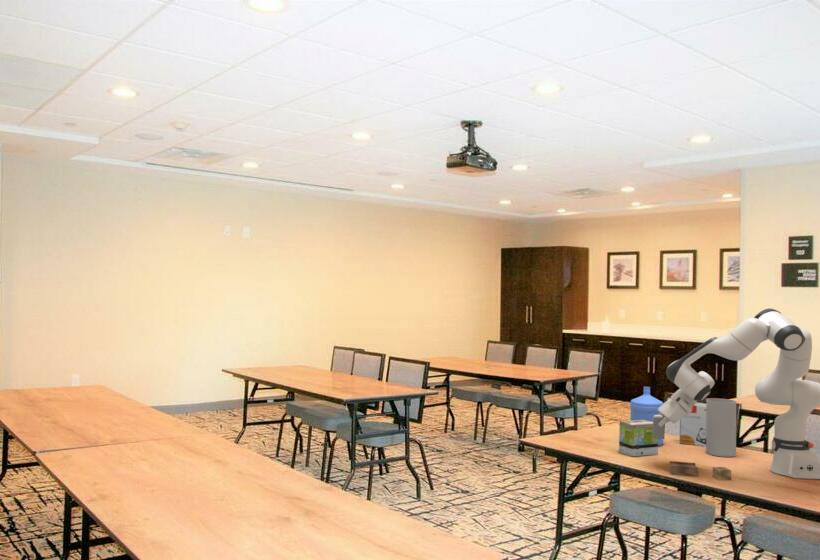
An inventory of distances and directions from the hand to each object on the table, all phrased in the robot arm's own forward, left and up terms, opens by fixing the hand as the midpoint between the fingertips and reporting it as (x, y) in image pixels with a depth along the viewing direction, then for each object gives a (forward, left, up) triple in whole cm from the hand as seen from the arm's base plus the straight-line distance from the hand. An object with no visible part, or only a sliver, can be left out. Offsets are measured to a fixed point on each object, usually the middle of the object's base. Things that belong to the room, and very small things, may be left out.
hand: (657, 424), depth 280 cm
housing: (-1, 0, -6) cm, 6 cm away
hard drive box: (-23, -53, -18) cm, 60 cm away
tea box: (+6, -22, -18) cm, 29 cm away
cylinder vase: (-31, -34, -18) cm, 49 cm away
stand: (-10, +8, -18) cm, 22 cm away
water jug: (+1, -46, -18) cm, 49 cm away
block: (-24, +11, -18) cm, 32 cm away
